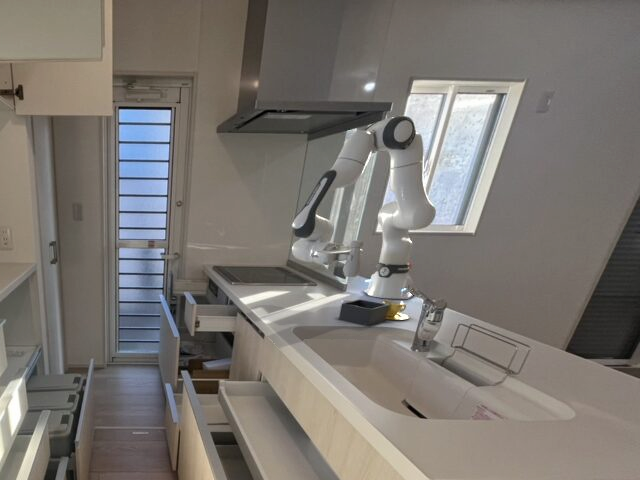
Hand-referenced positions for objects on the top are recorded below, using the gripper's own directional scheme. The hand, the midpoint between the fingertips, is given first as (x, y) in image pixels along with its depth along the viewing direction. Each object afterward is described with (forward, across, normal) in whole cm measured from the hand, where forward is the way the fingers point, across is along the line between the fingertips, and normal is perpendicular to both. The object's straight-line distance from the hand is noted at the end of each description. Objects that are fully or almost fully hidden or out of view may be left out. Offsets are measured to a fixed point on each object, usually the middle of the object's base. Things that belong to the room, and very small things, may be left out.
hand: (356, 257), depth 155 cm
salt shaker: (-1, 0, +7) cm, 7 cm away
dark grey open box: (+14, -8, +20) cm, 25 cm away
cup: (+15, +5, +20) cm, 26 cm away
